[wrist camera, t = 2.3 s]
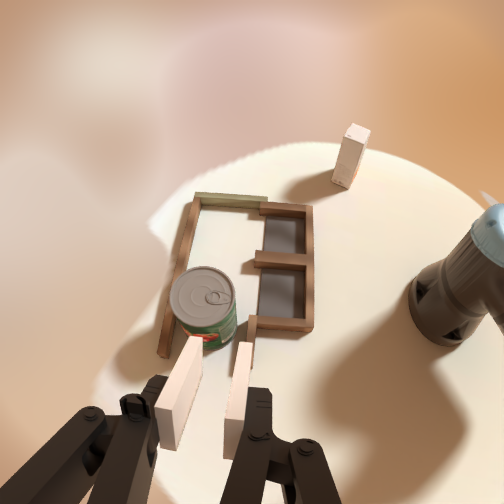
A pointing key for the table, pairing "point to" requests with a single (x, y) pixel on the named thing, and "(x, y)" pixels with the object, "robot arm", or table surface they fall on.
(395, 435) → the table surface
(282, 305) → the wooden rail frame
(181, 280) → the canned tomato
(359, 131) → the skincare box
